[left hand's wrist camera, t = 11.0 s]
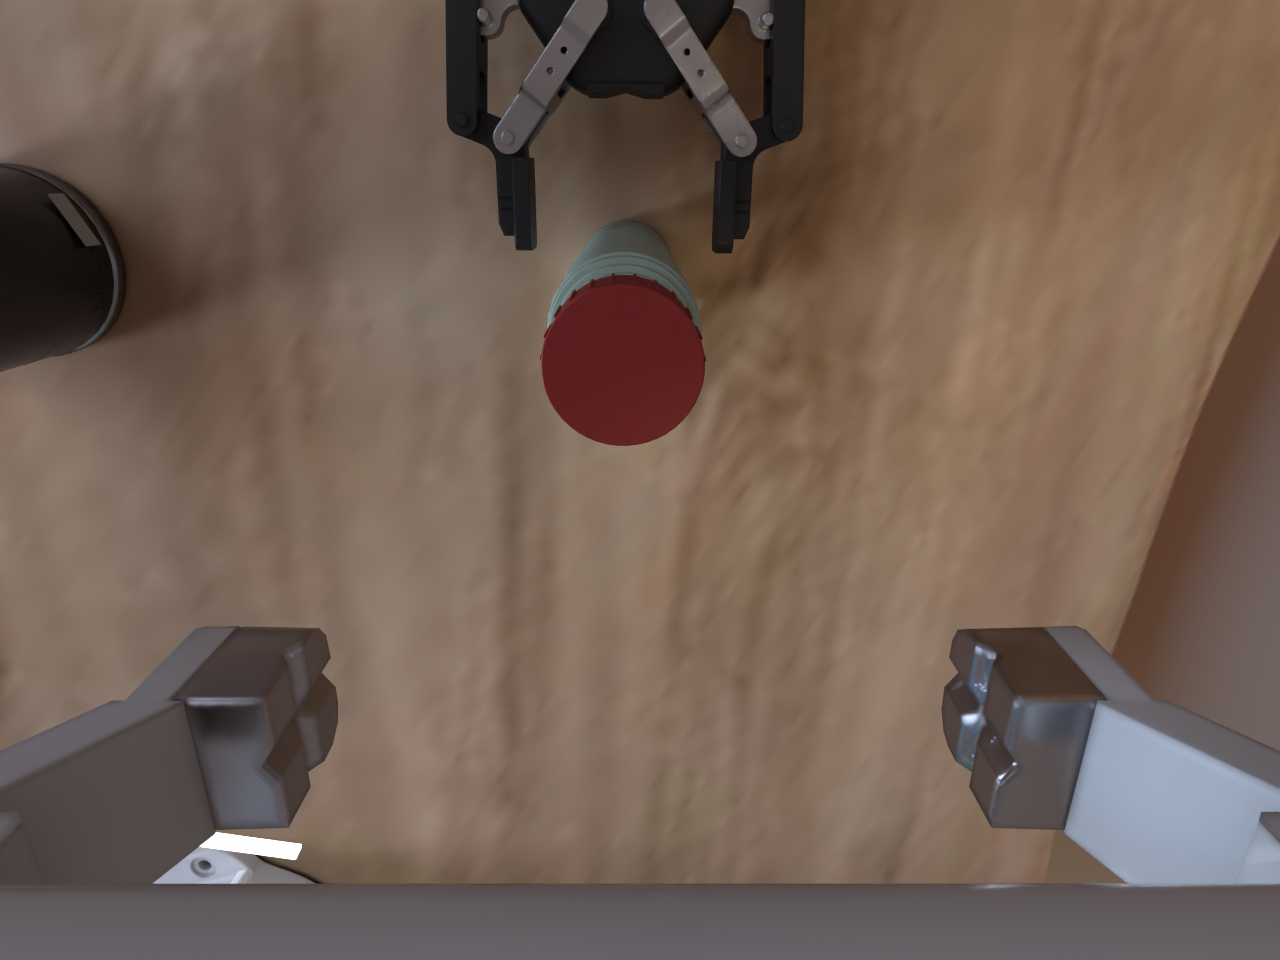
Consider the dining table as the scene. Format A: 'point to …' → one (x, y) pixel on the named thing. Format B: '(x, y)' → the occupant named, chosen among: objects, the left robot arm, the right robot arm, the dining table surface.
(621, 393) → the cap
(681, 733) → the dining table surface
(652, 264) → the bottle
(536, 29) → the right robot arm
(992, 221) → the dining table surface
